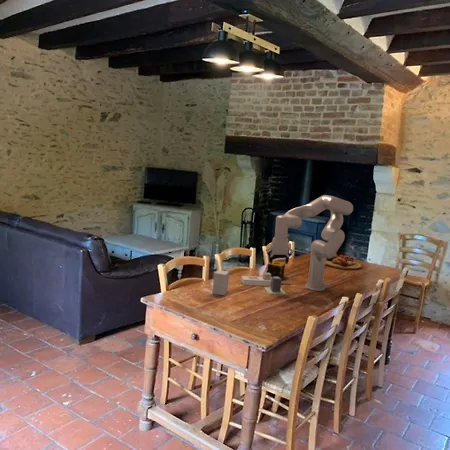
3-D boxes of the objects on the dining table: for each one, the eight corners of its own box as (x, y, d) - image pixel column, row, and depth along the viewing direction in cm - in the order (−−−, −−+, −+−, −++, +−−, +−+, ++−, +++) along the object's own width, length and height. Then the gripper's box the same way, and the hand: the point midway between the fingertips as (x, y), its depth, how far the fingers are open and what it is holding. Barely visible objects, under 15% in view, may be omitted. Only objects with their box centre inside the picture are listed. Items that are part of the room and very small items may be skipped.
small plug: (268, 280, 274) (269, 272, 273) (270, 282, 270) (271, 274, 269) (262, 279, 273) (263, 272, 272) (264, 281, 269) (265, 274, 269)
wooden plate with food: (359, 273, 320) (361, 262, 319) (317, 265, 331) (319, 255, 330) (362, 265, 349) (364, 255, 348) (324, 258, 361) (325, 248, 360)
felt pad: (281, 288, 265) (281, 287, 265) (285, 294, 254) (286, 293, 254) (264, 288, 263) (264, 287, 263) (268, 293, 252) (268, 293, 252)
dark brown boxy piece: (265, 277, 286) (267, 263, 285) (269, 274, 296) (271, 260, 294) (280, 280, 283) (281, 266, 281) (283, 276, 292) (285, 263, 290)
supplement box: (227, 292, 250) (229, 271, 248) (223, 295, 243) (225, 274, 241) (216, 289, 252) (218, 269, 250) (211, 293, 245) (213, 272, 243)
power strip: (288, 282, 278) (289, 276, 278) (291, 286, 271) (292, 280, 270) (241, 281, 273) (241, 274, 273) (243, 285, 266) (243, 278, 265)
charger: (278, 289, 261) (279, 276, 260) (280, 291, 257) (281, 278, 255) (270, 289, 261) (271, 276, 259) (272, 291, 256) (273, 278, 254)
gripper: (292, 235, 258) (290, 261, 261) (265, 234, 255) (263, 261, 258) (296, 237, 250) (294, 265, 254) (268, 236, 248) (266, 264, 251)
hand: (278, 263), depth 256 cm, fingers open, 9 cm apart
